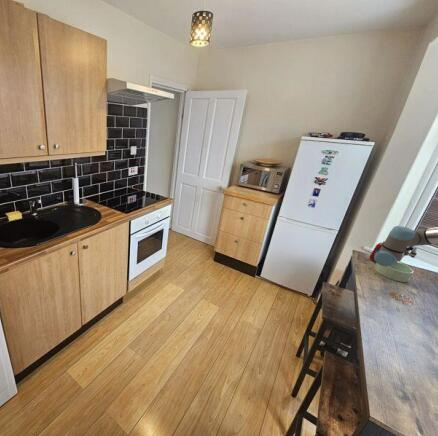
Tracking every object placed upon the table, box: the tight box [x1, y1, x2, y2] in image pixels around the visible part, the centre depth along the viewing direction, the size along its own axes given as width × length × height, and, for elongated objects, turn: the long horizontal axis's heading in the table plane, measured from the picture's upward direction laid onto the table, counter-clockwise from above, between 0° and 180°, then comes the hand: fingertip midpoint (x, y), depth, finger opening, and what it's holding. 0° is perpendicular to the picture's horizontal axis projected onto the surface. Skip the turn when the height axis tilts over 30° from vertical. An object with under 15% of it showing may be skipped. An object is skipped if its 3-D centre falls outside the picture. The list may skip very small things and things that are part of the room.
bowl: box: [373, 261, 415, 283], centre depth 133 cm, size 15×15×6 cm
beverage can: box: [368, 242, 383, 264], centre depth 145 cm, size 7×7×12 cm
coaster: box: [388, 291, 414, 306], centre depth 115 cm, size 9×9×1 cm
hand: (407, 243), depth 129 cm, fingers closed on stirring pestle, 2 cm apart
